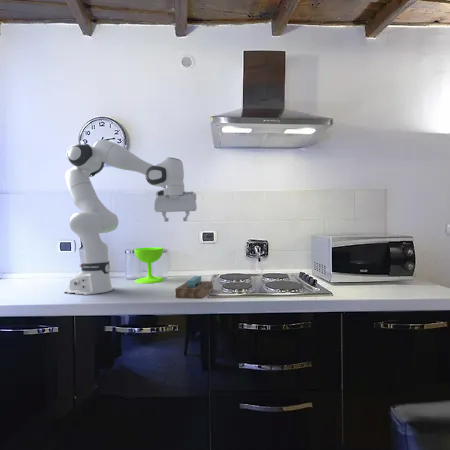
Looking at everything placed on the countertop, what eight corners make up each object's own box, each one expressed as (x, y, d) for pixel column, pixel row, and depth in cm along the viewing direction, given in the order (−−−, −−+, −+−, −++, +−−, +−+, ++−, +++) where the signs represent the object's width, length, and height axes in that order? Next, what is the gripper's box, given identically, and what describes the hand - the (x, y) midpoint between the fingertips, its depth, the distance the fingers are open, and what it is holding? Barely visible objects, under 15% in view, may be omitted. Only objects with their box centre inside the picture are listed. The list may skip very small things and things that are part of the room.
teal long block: (187, 296, 157) (187, 280, 157) (195, 290, 168) (194, 276, 168) (193, 296, 156) (193, 280, 156) (201, 290, 168) (201, 276, 168)
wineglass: (161, 283, 190) (160, 249, 190) (131, 284, 190) (130, 250, 189) (166, 278, 206) (165, 247, 206) (138, 278, 206) (137, 247, 205)
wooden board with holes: (175, 297, 155) (175, 288, 155) (188, 289, 172) (188, 281, 172) (202, 298, 152) (202, 289, 152) (212, 289, 170) (212, 281, 170)
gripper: (198, 191, 169) (198, 220, 169) (157, 193, 173) (158, 221, 174) (194, 190, 163) (195, 221, 163) (152, 192, 167) (153, 222, 167)
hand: (175, 221), depth 168 cm, fingers open, 8 cm apart
